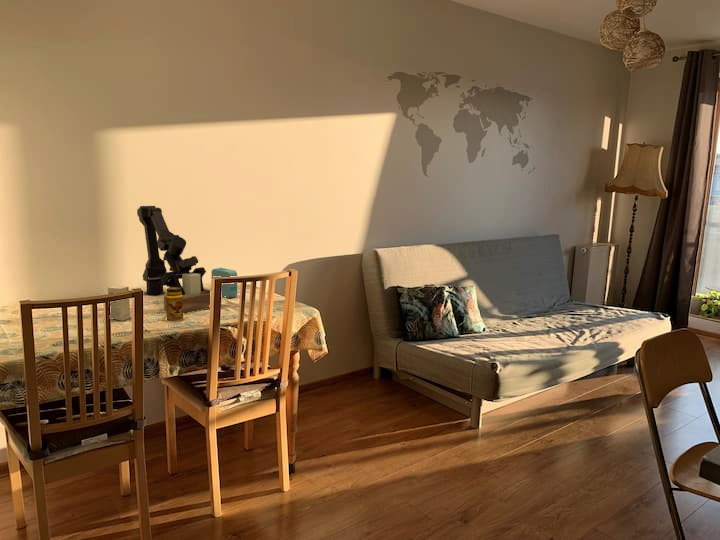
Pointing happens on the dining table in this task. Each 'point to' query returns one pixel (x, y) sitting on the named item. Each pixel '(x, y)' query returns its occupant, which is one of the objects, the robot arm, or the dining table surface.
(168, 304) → the condiment
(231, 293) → the data package
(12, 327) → the dining table surface
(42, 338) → the dining table surface
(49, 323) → the dining table surface
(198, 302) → the walnut box
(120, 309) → the skincare box
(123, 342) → the dining table surface
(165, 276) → the robot arm
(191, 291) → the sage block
